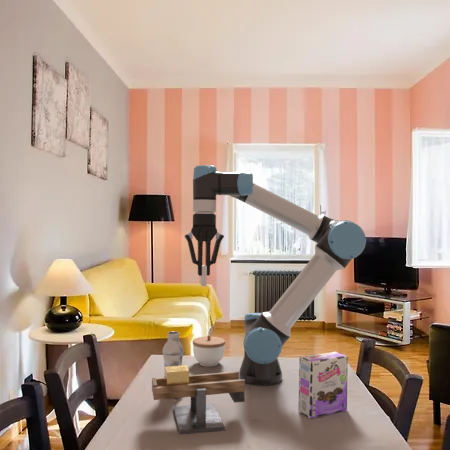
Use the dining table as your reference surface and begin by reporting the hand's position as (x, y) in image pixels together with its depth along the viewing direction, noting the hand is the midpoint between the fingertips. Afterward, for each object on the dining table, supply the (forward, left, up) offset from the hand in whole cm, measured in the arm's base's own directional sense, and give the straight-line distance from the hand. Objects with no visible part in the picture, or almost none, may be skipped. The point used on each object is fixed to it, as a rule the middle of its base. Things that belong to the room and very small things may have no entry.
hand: (203, 285), depth 155 cm
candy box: (-32, +23, -35) cm, 53 cm away
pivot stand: (+5, +22, -34) cm, 41 cm away
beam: (+5, +22, -29) cm, 37 cm away
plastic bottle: (+10, +3, -35) cm, 36 cm away
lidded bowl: (-7, -28, -35) cm, 45 cm away
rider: (+11, +22, -25) cm, 35 cm away
